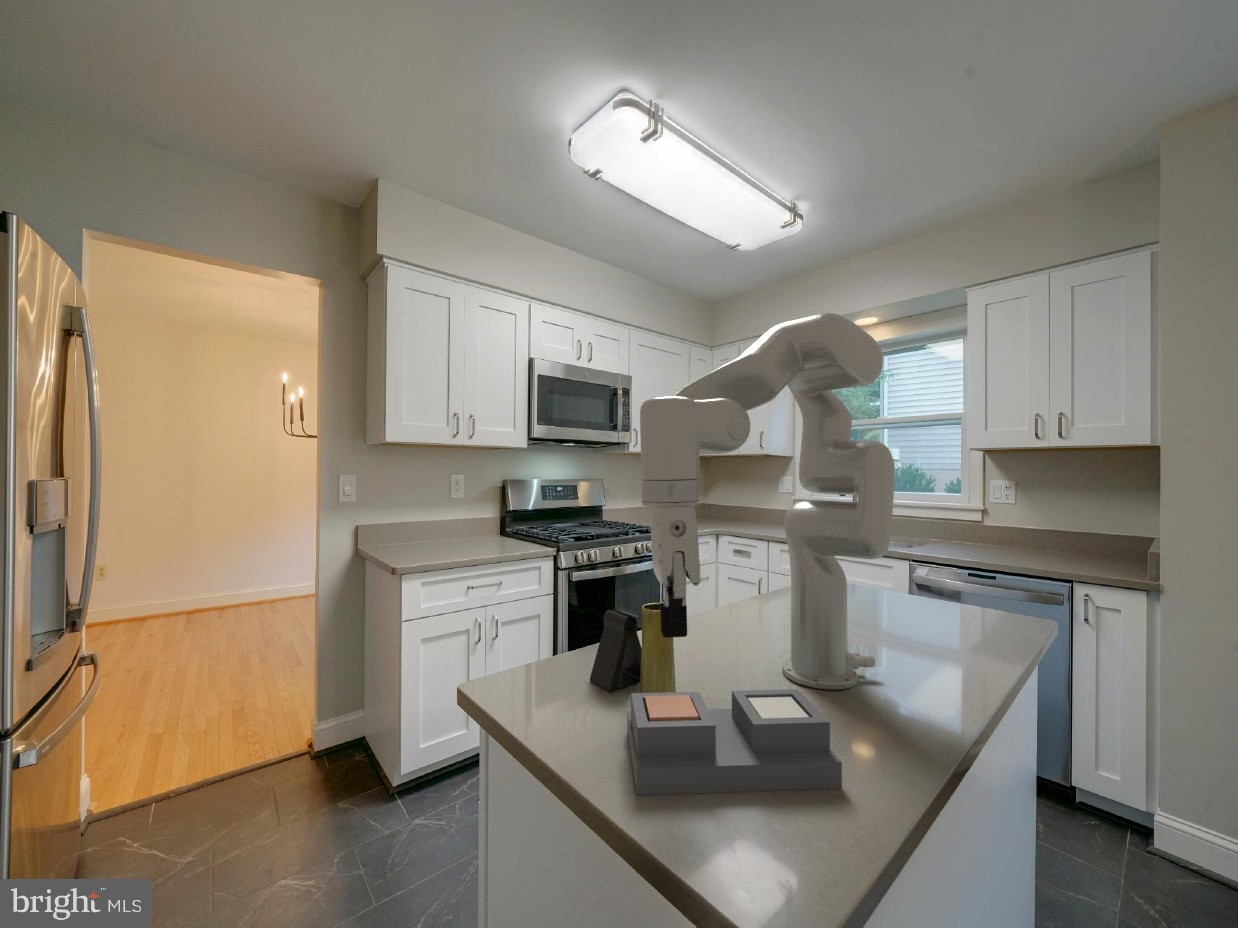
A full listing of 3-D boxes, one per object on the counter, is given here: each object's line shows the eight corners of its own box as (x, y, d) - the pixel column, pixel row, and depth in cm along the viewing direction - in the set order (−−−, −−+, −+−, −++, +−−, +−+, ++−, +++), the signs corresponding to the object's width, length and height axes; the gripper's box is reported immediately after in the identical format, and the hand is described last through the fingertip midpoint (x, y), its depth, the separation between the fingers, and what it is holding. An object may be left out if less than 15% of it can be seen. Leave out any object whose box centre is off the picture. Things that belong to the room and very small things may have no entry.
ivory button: (791, 718, 69) (790, 696, 69) (810, 742, 63) (810, 717, 63) (747, 720, 69) (747, 697, 69) (762, 743, 63) (762, 719, 63)
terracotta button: (689, 717, 68) (689, 694, 69) (698, 740, 62) (698, 716, 63) (644, 718, 68) (644, 695, 68) (650, 742, 62) (650, 717, 62)
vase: (665, 703, 81) (665, 613, 81) (632, 694, 84) (632, 608, 85) (682, 689, 86) (681, 605, 86) (650, 681, 89) (650, 600, 90)
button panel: (793, 727, 73) (793, 682, 73) (841, 787, 59) (841, 731, 59) (627, 732, 72) (627, 686, 72) (636, 795, 58) (636, 737, 58)
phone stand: (609, 693, 85) (609, 621, 85) (589, 681, 90) (589, 613, 90) (650, 680, 90) (650, 612, 90) (629, 669, 95) (629, 605, 95)
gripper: (713, 496, 59) (716, 655, 59) (688, 489, 74) (691, 616, 74) (648, 498, 58) (652, 658, 58) (636, 491, 73) (639, 618, 73)
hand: (673, 634), depth 66 cm, fingers closed
